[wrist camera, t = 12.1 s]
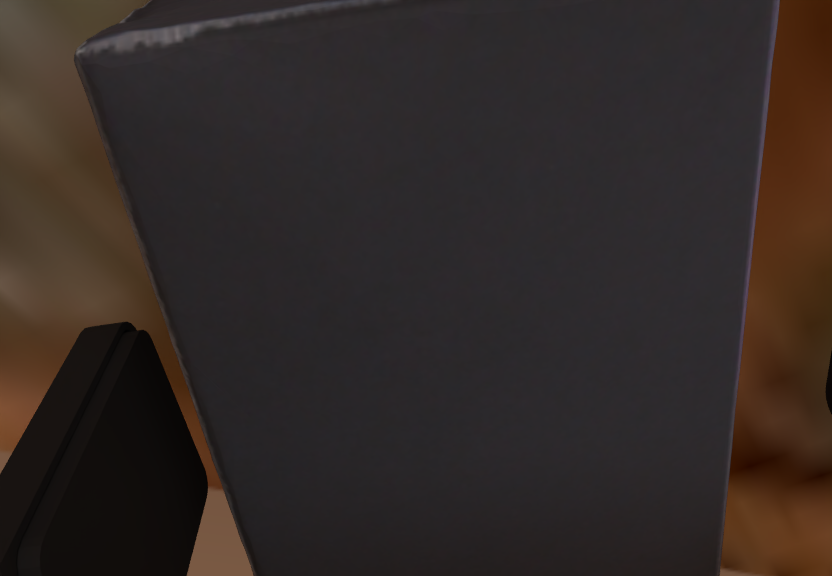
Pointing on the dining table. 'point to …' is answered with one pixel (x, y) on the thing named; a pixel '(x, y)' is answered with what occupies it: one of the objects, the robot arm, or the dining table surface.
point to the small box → (451, 268)
